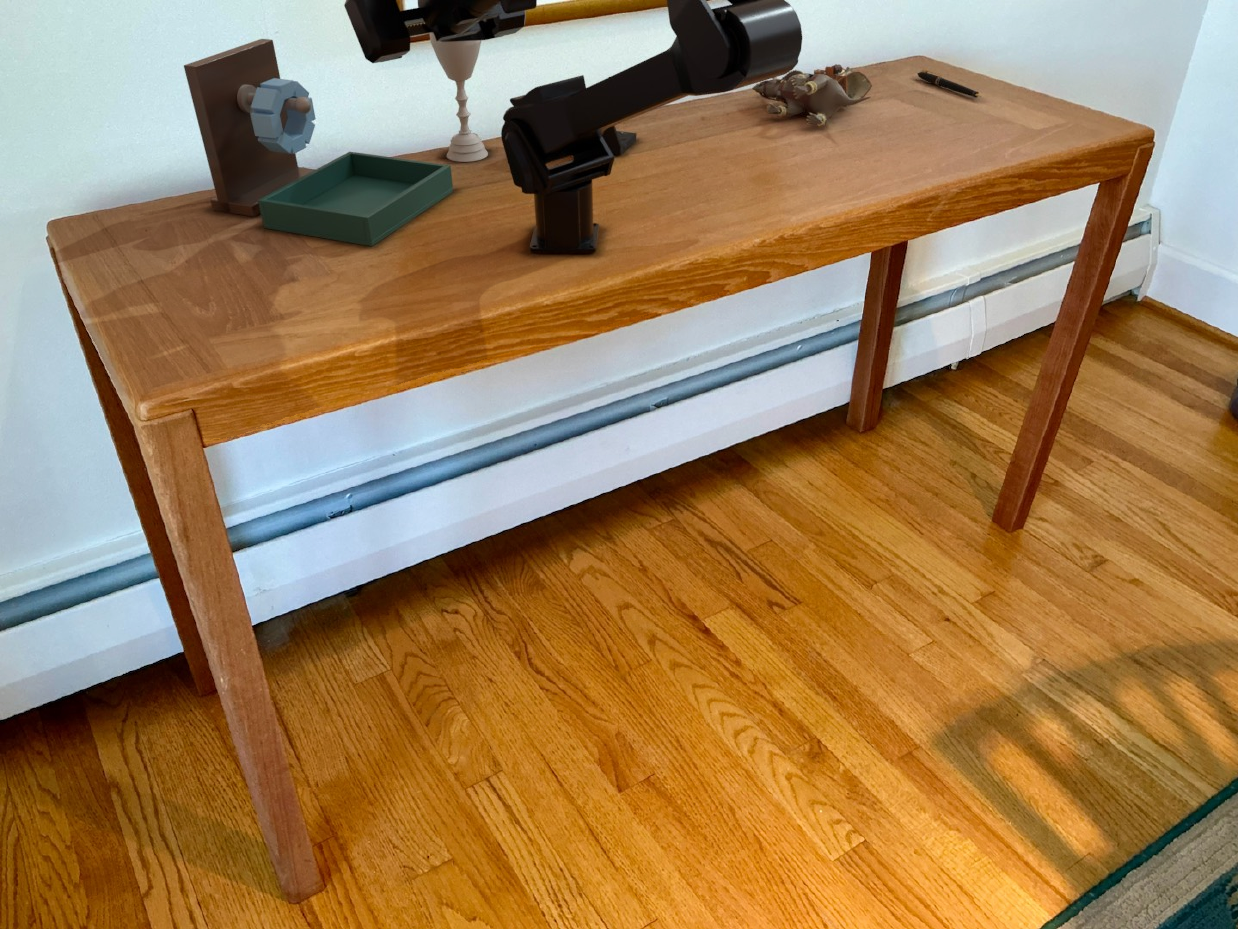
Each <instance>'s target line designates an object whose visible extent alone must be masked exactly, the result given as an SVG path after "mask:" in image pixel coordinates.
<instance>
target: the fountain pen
mask: <svg viewBox="0 0 1238 929" xmlns="http://www.w3.org/2000/svg"><path fill="white" fill-rule="evenodd" d="M916 74H917V76H918V78H920V79H922V80H923V81H925V82H927V83H930V84H932V85H935V86H938V87H941V88H945V89H947V90H950V91H954V92H956V93H960V94H963V95H965V96H970V97H973V98H974V99H975V98H978V97H979V98H981V97H982V98H985V96H983V95H982V94H980V93H979V91H976V90H974V89H972V88H969V87H967V86H963V85H962V84H960V83H957V82H954V81H951V80H949V79H945V78H944V77H942V74H940V73H937V72H933V71H930V70H926V69H922V70H921V71H919V72H917V73H916Z"/></svg>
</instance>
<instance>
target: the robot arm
mask: <svg viewBox="0 0 1238 929" xmlns="http://www.w3.org/2000/svg"><path fill="white" fill-rule="evenodd" d="M537 1H538V0H417V7H414V8H408V9H403V10H400V7H399V5H398V2H397V0H345V2H344V4H343V6H344V8H345V11H346V14H347V16H348V19H349V21H350V23H351V26H352V29H353V31H354V33H355V36H356V38H357V41H358V43H359V46H360V48H361V51H362V54H363V56H364V58H365V60H367V61H369V62H370V63H371V64H377V63H384V62H389V61H394V60H398V59H402V58H403V56H405V55H407V54H408V53H409V52H410V51H411V38H415V37H420V36H424V35H430V33H434V36H435V38H436V41H441V42H456V41H479V40H481V41H488V40H492V39H498V38H502V37H504V36H508V35H514V34H516V33H518V32H520V30H521V29H523V28H524V27H525V24H526V16H527V12H526V11H529V10H535V9H536V8H537V6H538V5H537V4H538V2H537ZM726 1H727V2H729V3H730V4H728V5H724V6H720V7H715V8H711V6H710V4H709V2H708V1H707V0H666V3H667V4H666V5H667V12H668V20H669V25H670V28H671V30H672V31H673V33H674V35H675V38H674V40H673V42H672V44H671V45H670V47H669V48H668V49H666V50H665V51H662V52H660V53H658V54H656V55H653V56H651V57H649V58H647V59H645V60H643V61H641V62H639V63H636V64H635V65H632V66H630V67H628V68H626V69H624V70H622V71H619V72H618V73H615V74H613V75H611V76H609V77H606V78H605V79H601V81H598V82H596V83H594V84H591V85H589V86H588V87H587V85H586V80H585V76H584V74H582V75H578V76H574V77H570V78H566V79H562V80H558V81H554V82H550V83H546V84H543V85H539V86H536V87H534V88H532V89H530V90H529V91H528V92H526V94H522V95H519V96H514V97H512V98H509V102H510V104H511V105H512V106H510V107H509V108H507V109H506V110H505V112H504V114H503V116H502V121H504V123H503V124H502V127H501V131H500V132H501V133H500V134H501V136H500V137H501V142H502V146H503V150H504V153H505V157H506V161H507V164H508V167H509V171H510V174H511V178H512V181H513V184H514V186H516V187H519V188H521V193H523V194H526V195H533V199H534V200H533V202H534V218H535V225H534V229H533V232H532V235H531V239H530V240H531V241H530V243H529V251H530V252H531V253H560V254H561V253H563V254H564V253H565V254H566V253H568V254H569V253H571V254H572V253H573V254H574V253H579V254H580V253H581V254H582V253H584V254H592V253H595V252H597V247H598V241H599V240H598V239H599V231H600V224H599V223H597V222H594V198H593V180H596V179H599V178H602V177H608V176H611V174H612V169H613V165H614V162H615V156H614V154H612V152H611V150H610V149H609V147H608V145H607V144H606V142H605V140H604V138H603V137H602V134H603V132H604V131H605V130H606V129H607V128H609V127H612V126H614V125H615V126H616V125H619V124H622V123H624V122H627V121H629V120H632V119H634V118H637V117H639V116H642V115H644V114H647V113H650V112H651V111H654V110H657V109H658V108H661V107H664V106H666V105H669V104H671V103H673V102H676V101H679V100H681V99H684V98H686V97H689V96H691V97H699V96H705V95H706V96H707V95H714V94H722V93H727V92H732V91H735V90H738V89H741V88H744V87H748V86H751V85H754V84H759V83H760V82H763V81H767V80H772V78H774V77H777V78H778V77H780V76H785V75H787V74H788V73H789V72H791V71H793V70H794V68H795V67H796V66H797V65H798V64H799V57H800V55H801V51H802V46H803V31H802V24H801V21H800V19H799V17H798V14H797V12H796V11H795V9H794V8H793V7H792V5H791V4H790V3H789V2H788V1H787V0H726ZM570 157H572V159H570V160H568V161H564V162H561V163H559V164H555V165H552V166H549V167H548V166H547V164H550V163H553V162H557V161H559V160H562V159H566V158H570Z"/></svg>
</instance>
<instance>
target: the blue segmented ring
mask: <svg viewBox="0 0 1238 929" xmlns="http://www.w3.org/2000/svg"><path fill="white" fill-rule="evenodd" d="M260 85H261V88H258V87H257V89H256V92H255V95H254V99H253V102H252V105H251V108H252V109H253V110H254V111H255V112H253V113H250V115H251V119H252V124H253V128H254V133H255V136H259V138H258V141H259V142H260V143H262V144H263V145H264V146H265V147H266V148H268V149H269V150H270V151H274V152H282V153H289V154H296V153H299V152H301V151H303V150H306V148H307V145H310V143H311V140H312V138H313V135H314V134H313V133H314V131H315V128H316V124H315V123H314V122H313V121H315V120H316V119H317V118H316V113H315V108H314V103H313V98H312V97H309V96H310V92H309V91H308V90H307V89H306V88H305V87H304V86H303V85H302V84H301V83H300V82H299V81H296V80H293V79H285V78H280V79H277V78H273V79H271V80H268V81H266V82H263V83H261V84H260ZM298 97H306V98H307V99H308V100H309V101H310V103H311V110H310V111H309V112H308V113H307V114H300V113H298V112H297V111H294V110H286V111H287V116H288V119H287V123H286V126H285V129H284V132H283V128H282V123H281V118H280V113H281V109H282V106H283V103H284V100H286V99H288V98H296V99H297V98H298Z"/></svg>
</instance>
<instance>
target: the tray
mask: <svg viewBox="0 0 1238 929" xmlns="http://www.w3.org/2000/svg"><path fill="white" fill-rule="evenodd" d="M315 169H316V170H314V171H312V172H310V173H308V174H306V175H305V176H303V177H301V178H299V179H297V180H295V181H293V182H291V183H289V184H288V185H286V186H284V187H282V188H280V189H278V190H276V191H274V192H272V193H271V194H269V195H267V196H265V197H263V198H261V199H259V200H258V203H259V208H260V212H261V213H260V216H261V220H262V223H263V224H262V225H263V229H268V230H273V231H280V232H285V233H291V234H298V235H303V236H309V237H315V238H319V239H320V238H322V239H326V240H333V241H339V242H345V243H349V244H350V243H351V244H356V245H363V246H368V247H374V246H375V245H377V244H378V243H379V242H381V241H382V240H384V239H385V238H387V237H388V236H390V235H391V234H393V233H394V232H396V231H397V230H399V229H401V227H403V226H404V225H406V224H407V223H409V222H411V221H412V220H414V219H415V218H417V217H418V216H419V215H421V214H422V213H424V212H425V211H427V210H428V209H430V208H431V207H433V206H435V204H437V203H439V202H440V201H442V200H443V199H444V198H447V197H448V196H449V195H450V194H452V193H453V192H454V186H453V177H452V166H451V165H450V164H443V163H437V162H431V161H430V162H429V161H421V160H416V159H415V160H414V159H408V158H407V159H406V158H399V157H392V156H385V155H377V154H370V153H363V152H357V151H355V152H354V151H348V152H346V153H344V154H342V155H340V156H339V157H337V158H335V159H333V160H331V161H329V162H327V163H325V164H323V165H321V166H320V167H317V168H315Z"/></svg>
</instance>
